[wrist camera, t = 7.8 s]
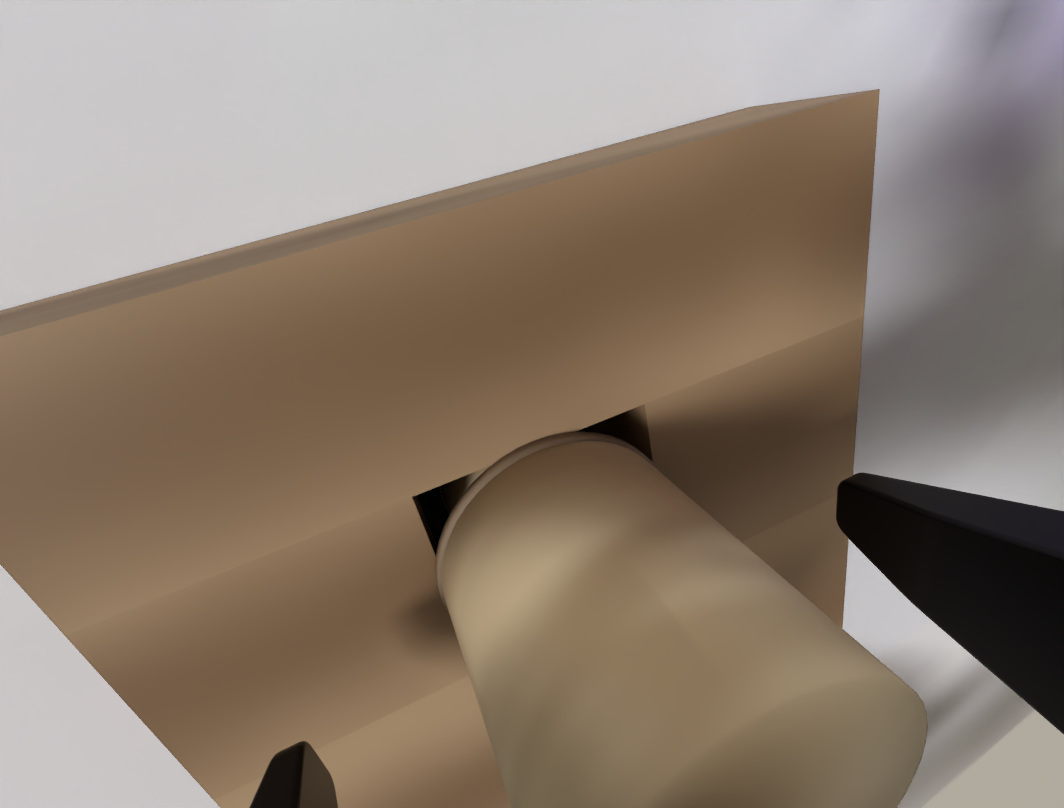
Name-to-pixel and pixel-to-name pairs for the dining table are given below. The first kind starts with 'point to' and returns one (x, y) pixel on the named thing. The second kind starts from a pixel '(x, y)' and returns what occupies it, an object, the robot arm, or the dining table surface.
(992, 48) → the dining table surface
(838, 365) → the board
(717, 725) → the peg
